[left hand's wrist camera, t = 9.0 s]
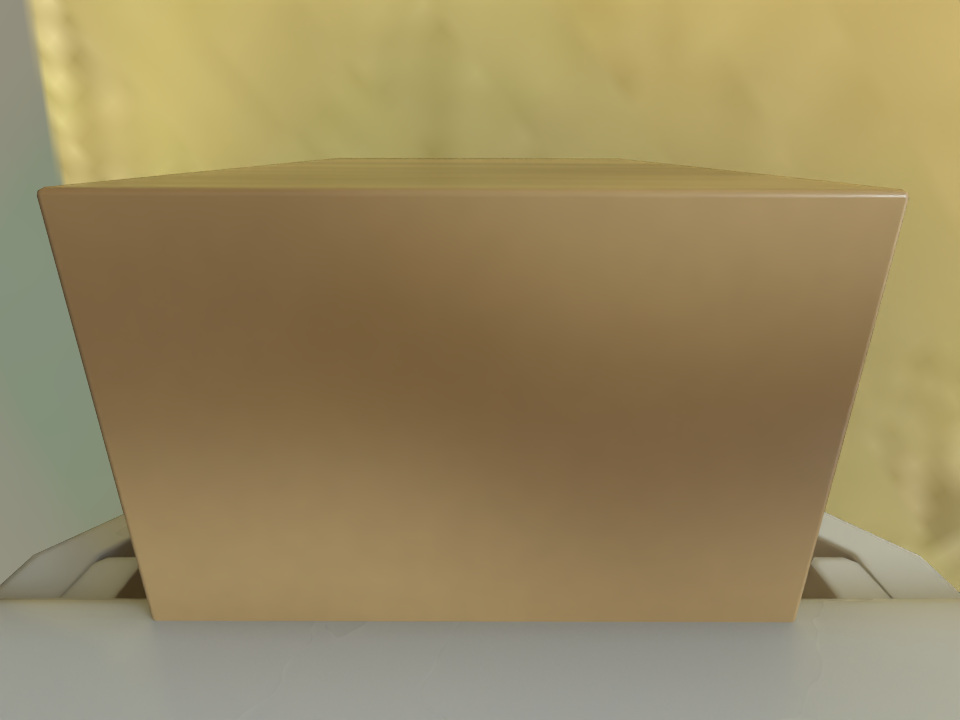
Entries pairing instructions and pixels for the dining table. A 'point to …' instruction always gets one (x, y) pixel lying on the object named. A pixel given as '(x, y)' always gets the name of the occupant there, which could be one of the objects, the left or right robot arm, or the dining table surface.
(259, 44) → the dining table surface
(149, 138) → the dining table surface
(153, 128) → the dining table surface
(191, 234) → the block
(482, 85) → the dining table surface
